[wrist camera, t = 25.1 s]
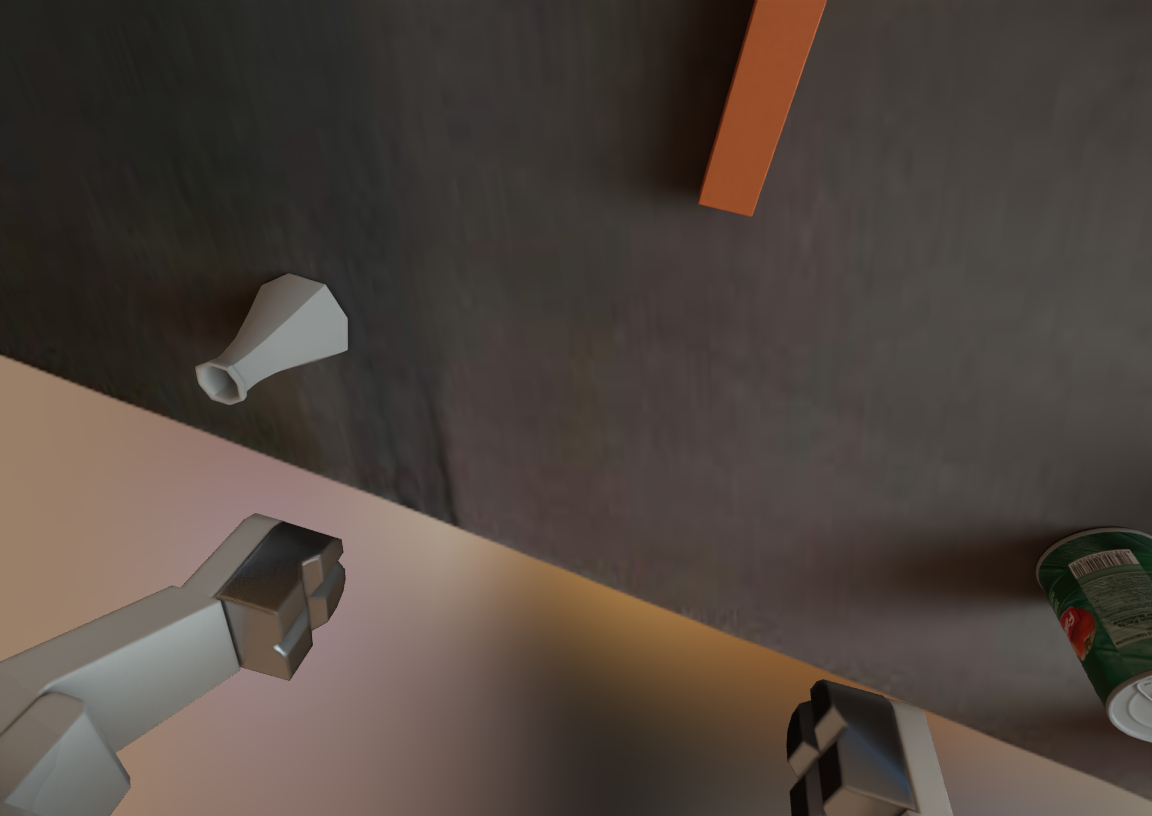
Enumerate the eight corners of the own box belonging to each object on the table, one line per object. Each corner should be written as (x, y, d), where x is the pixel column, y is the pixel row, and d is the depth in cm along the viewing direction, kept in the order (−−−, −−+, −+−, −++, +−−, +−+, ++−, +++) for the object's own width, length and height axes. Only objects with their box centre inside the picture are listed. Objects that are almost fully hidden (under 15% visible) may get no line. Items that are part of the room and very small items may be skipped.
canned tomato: (1196, 560, 42) (1320, 711, 33) (1092, 616, 47) (1176, 761, 38) (1105, 509, 42) (1207, 649, 33) (1008, 570, 46) (1074, 708, 37)
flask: (283, 357, 49) (196, 428, 41) (249, 272, 45) (145, 332, 37) (363, 358, 48) (288, 433, 40) (334, 271, 44) (244, 333, 36)
